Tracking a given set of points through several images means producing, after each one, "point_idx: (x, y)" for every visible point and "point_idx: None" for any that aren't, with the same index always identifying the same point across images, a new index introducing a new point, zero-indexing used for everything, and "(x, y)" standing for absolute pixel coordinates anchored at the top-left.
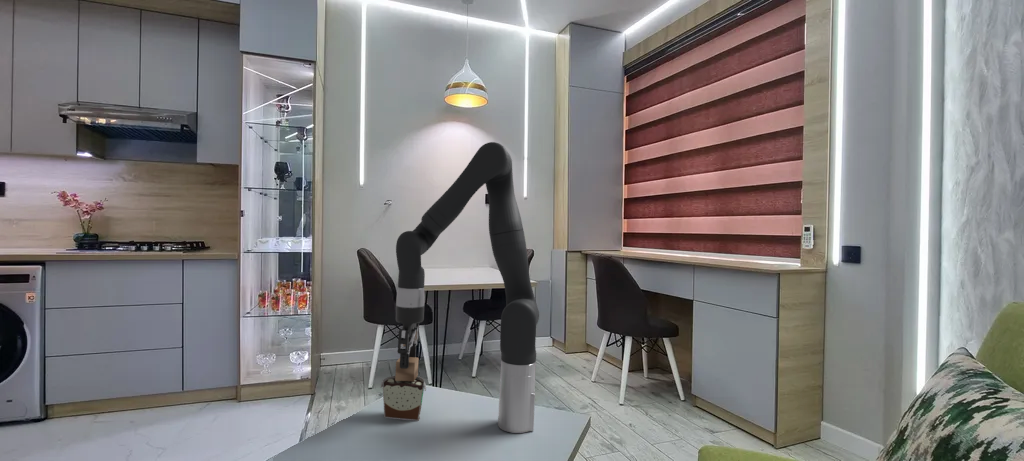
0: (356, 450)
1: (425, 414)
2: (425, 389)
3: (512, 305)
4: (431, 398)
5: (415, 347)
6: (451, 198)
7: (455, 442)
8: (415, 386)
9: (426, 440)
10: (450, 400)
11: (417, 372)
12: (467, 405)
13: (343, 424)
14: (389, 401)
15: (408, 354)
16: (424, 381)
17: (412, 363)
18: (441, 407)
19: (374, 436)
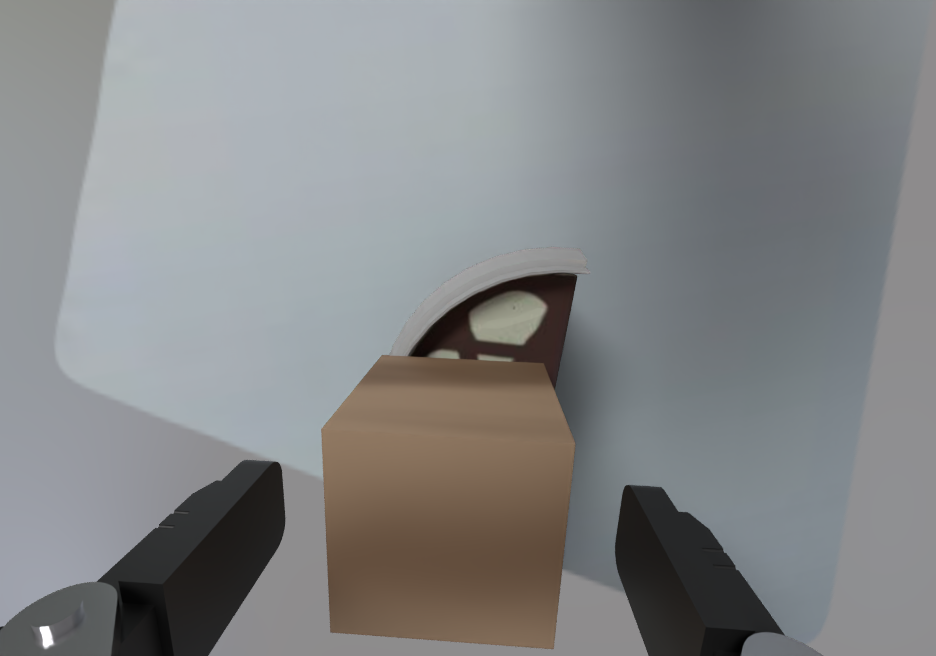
0: (836, 468)
1: (458, 245)
2: (570, 250)
3: None
4: (232, 245)
5: (171, 573)
6: None
7: (812, 30)
8: (563, 335)
9: (772, 192)
10: (239, 127)
11: (392, 366)
12: (299, 4)
13: (587, 568)
14: None
15: (749, 633)
16: (539, 272)
17: (570, 464)
18: (353, 169)
19: (710, 430)
